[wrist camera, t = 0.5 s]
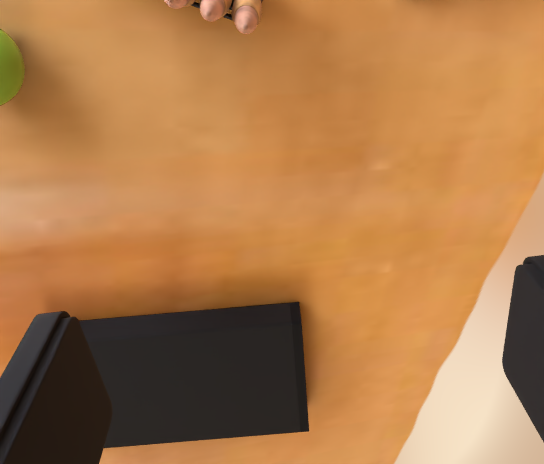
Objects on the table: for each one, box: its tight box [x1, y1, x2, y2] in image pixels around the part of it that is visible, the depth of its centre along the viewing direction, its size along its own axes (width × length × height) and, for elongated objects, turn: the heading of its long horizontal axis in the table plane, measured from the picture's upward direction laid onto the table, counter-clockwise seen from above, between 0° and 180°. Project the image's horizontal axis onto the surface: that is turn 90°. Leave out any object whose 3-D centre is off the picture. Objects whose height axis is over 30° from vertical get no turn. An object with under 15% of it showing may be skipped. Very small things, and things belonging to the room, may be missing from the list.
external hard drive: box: [79, 302, 309, 448], centre depth 49 cm, size 14×23×3 cm, turn 95°
